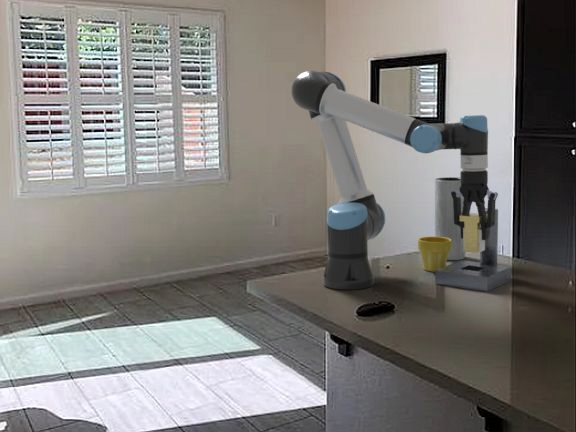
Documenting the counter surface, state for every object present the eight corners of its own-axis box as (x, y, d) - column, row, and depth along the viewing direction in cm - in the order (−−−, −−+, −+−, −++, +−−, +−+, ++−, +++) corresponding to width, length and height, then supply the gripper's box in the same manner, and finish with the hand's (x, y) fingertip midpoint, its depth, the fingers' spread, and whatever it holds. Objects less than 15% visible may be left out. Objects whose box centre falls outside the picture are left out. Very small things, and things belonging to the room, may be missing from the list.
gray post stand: (433, 283, 197) (433, 215, 194) (466, 269, 212) (466, 206, 210) (487, 291, 186) (487, 220, 183) (517, 276, 202) (518, 210, 199)
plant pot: (455, 267, 216) (455, 237, 214) (444, 274, 207) (444, 243, 206) (425, 264, 221) (424, 235, 220) (413, 271, 213) (412, 240, 211)
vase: (470, 259, 226) (470, 179, 222) (442, 261, 225) (442, 180, 221) (457, 253, 236) (457, 176, 232) (430, 255, 234) (430, 178, 230)
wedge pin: (459, 251, 196) (459, 215, 194) (469, 248, 200) (469, 212, 198) (479, 253, 192) (479, 217, 190) (488, 250, 196) (488, 214, 195)
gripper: (440, 170, 195) (441, 249, 199) (497, 171, 184) (496, 255, 187) (452, 168, 201) (453, 245, 204) (508, 169, 190) (507, 250, 193)
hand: (474, 249), depth 196 cm, fingers closed on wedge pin, 4 cm apart
